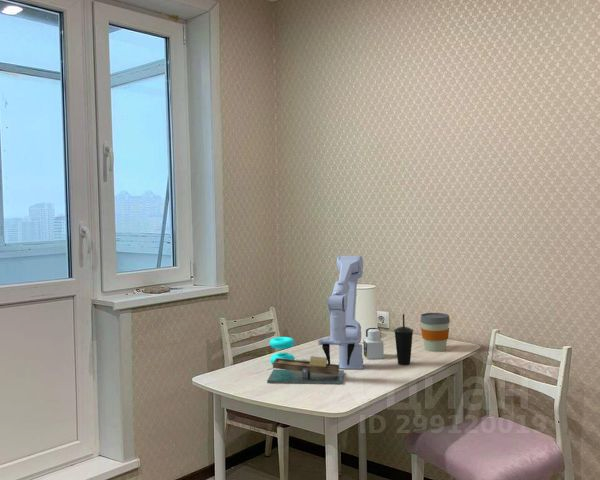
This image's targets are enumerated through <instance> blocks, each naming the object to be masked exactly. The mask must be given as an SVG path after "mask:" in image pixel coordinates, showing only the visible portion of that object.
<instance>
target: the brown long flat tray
mask: <svg viewBox="0 0 600 480" xmlns="http://www.w3.org/2000/svg"><path fill="white" fill-rule="evenodd" d="M309 361H310V360H298V359H295V360H290V359H281V358H276V359H275V360H274V362H273V364H272V369H277V370H294V371H302V367H307V368H308V372H312V373H321V374H330V375H338V373H339V370H340V369H339V365H338V364H335V363H330V365H328V363H327V366H326V368H323V367H314V366H310V362H309Z"/></svg>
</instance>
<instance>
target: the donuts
mask: <svg viewBox="0 0 600 480" xmlns="http://www.w3.org/2000/svg"><path fill="white" fill-rule="evenodd" d="M294 344H295V340H294V338H292V337H288V336H276V337H273V338H271V339H270V341H269V346H270V347H271V348H273V349H276V350H286V349H287V350H288V349H290V348H292V347H293V346H294ZM276 358H281V359H290V360H296V358H295V356H294V355H293V354H292V353H288V352H277V353H274V354H273V355H271V357H270V358H269V362H270V363H271V364H272V365H273V362H274V360H275V359H276Z"/></svg>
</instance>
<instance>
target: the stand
mask: <svg viewBox="0 0 600 480" xmlns="http://www.w3.org/2000/svg"><path fill="white" fill-rule="evenodd" d="M308 361H309V362H310V360H308ZM344 374H345V370H344V369H341V370H340V369H339V373H338V375H330V374H321V373H312V372H308V368H307V367H302V371H294V370H285V369H276V368H273V370H272V371H271V373H270V375H269V377H268V378H267V380H266V383H267V384H292V385H293V384H294V385H295V384H299V385H301V384H302V385H303V384H304V385H305V384H306V385H307V384H308V385H311V384H312V385H343V381H344Z"/></svg>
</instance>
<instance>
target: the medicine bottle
mask: <svg viewBox="0 0 600 480" xmlns="http://www.w3.org/2000/svg"><path fill="white" fill-rule="evenodd" d="M381 336H382V335H381V329H379V328H378V327H377V328H376V327H369V328H366V329H365V338H363V344H362V345H363V356H364V357H365V358H366V360H379V359H380V360H381V359H384V358H385V357H384V356H385V355H384V354H385V353H384V352H385V351H384V341H383V340H382V339H381Z"/></svg>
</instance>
